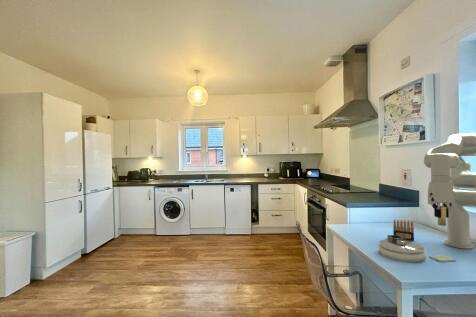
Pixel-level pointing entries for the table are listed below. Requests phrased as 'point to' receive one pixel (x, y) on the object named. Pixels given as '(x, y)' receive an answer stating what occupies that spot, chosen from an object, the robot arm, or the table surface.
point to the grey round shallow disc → (401, 245)
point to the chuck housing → (402, 256)
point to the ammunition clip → (404, 230)
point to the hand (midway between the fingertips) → (441, 216)
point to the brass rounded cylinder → (442, 216)
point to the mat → (443, 258)
